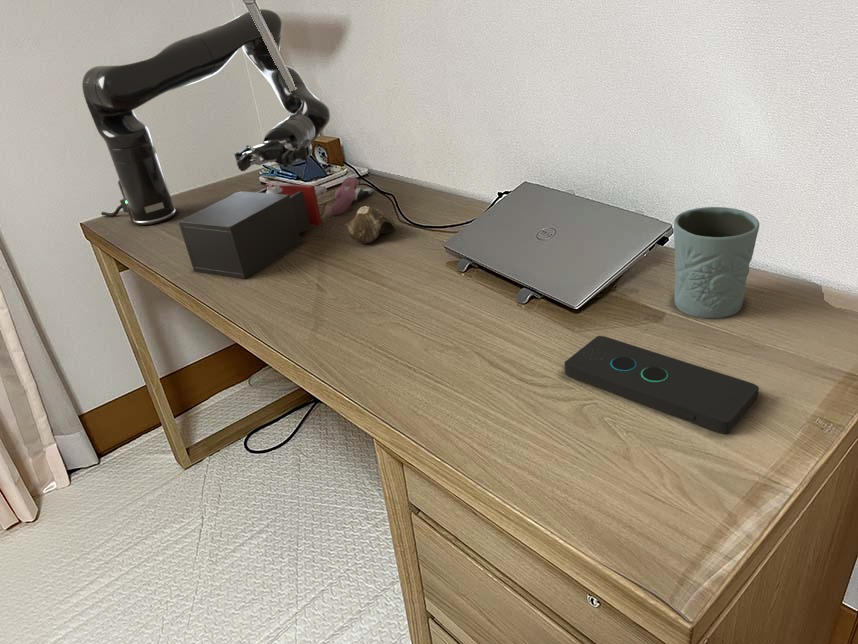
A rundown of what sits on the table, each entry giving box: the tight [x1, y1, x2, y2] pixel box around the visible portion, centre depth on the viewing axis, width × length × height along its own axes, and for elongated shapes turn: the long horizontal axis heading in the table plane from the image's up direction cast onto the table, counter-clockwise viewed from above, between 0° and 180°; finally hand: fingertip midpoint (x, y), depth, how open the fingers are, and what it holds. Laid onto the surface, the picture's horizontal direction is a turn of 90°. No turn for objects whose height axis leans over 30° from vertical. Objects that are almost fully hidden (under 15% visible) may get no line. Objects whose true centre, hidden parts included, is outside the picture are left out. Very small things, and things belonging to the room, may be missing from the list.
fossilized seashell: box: [344, 205, 397, 244], centre depth 129 cm, size 8×7×10 cm
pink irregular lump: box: [330, 176, 359, 216], centre depth 146 cm, size 10×5×7 cm, turn 0°
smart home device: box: [564, 335, 760, 435], centre depth 79 cm, size 8×2×20 cm
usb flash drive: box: [351, 187, 375, 205], centre depth 152 cm, size 9×5×1 cm, turn 147°
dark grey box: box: [177, 190, 302, 280], centre depth 127 cm, size 16×13×10 cm
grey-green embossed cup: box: [673, 206, 760, 319], centre depth 91 cm, size 10×10×12 cm
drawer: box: [256, 182, 328, 234], centre depth 136 cm, size 21×12×8 cm, turn 151°
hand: (262, 163), depth 128 cm, fingers open, 8 cm apart
